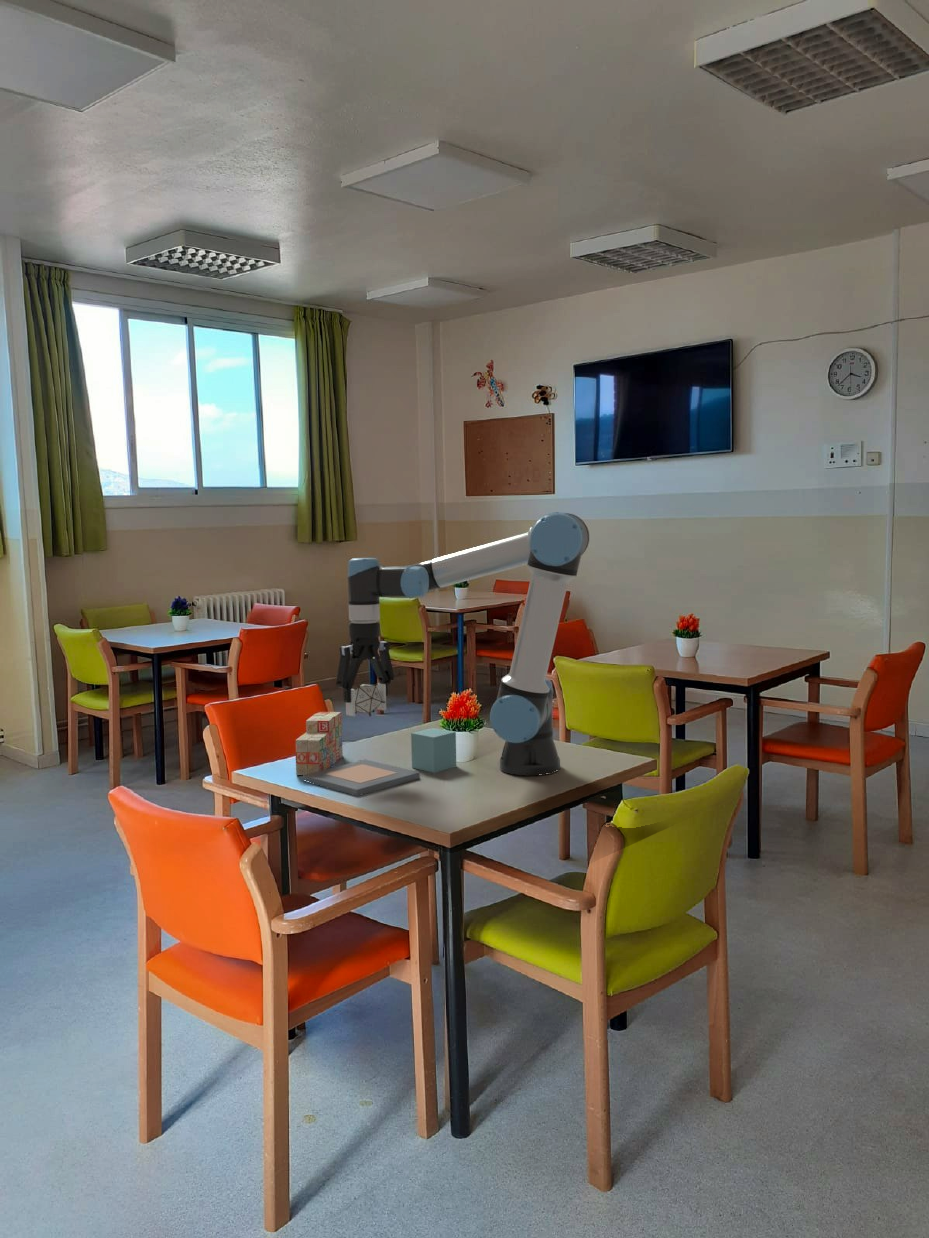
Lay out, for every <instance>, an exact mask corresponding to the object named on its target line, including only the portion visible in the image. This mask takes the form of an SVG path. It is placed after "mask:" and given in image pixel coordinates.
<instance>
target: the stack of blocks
mask: <svg viewBox="0 0 929 1238" xmlns="http://www.w3.org/2000/svg"><path fill="white" fill-rule="evenodd" d="M342 726H343V724H342V711H318V712H317V713H314V714H312V716H310V717H309V718H307V720H305V729H306V730H305V731H306V732H304V733H303V734H302V735H300V736H298V738H296V739H295V770H296V771H295V775H306V774H310V773H314V772H318V771H322V770H326V769H330V768H332V767H331V766H333V765H334V764H335V763H336V762H338V761H339V760H340V759H341V758H342V757H343V738H342V737H343V735H342V734H343V727H342ZM341 756H342V757H341Z"/></svg>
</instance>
